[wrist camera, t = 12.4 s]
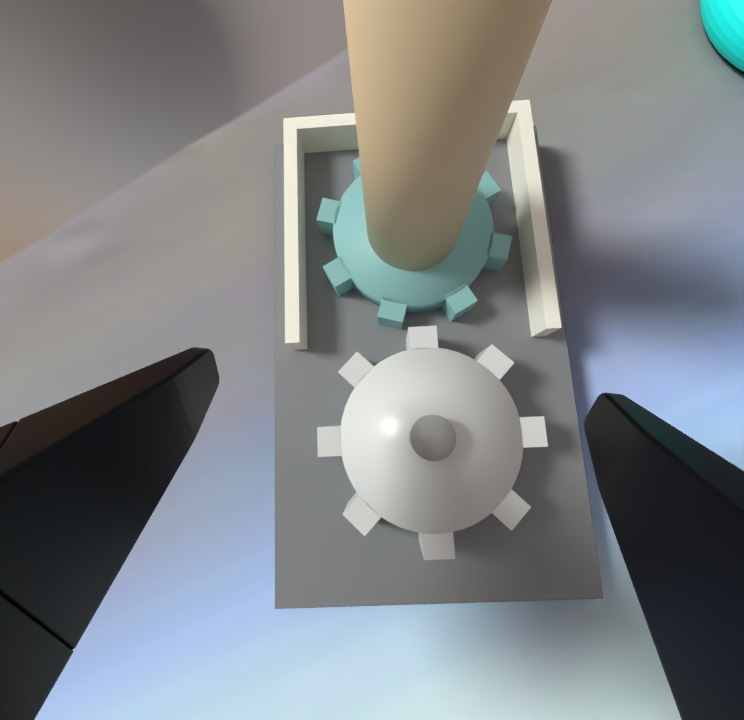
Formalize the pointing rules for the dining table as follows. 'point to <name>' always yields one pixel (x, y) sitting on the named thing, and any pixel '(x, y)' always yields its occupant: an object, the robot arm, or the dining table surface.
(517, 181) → the carrier plate
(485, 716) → the dining table surface
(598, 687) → the dining table surface
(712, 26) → the donuts
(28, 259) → the dining table surface
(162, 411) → the robot arm
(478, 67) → the gear
